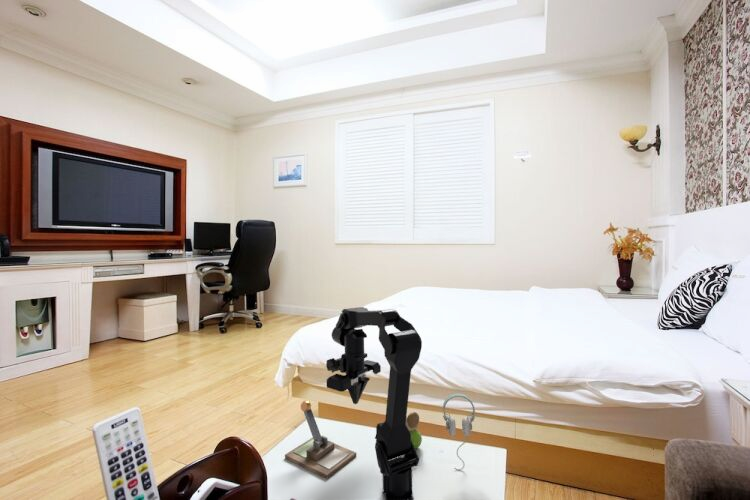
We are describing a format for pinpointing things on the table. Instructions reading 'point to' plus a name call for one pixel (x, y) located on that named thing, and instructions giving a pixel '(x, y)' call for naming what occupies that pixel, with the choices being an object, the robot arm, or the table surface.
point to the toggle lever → (311, 421)
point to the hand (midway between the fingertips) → (355, 403)
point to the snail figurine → (414, 429)
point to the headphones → (465, 421)
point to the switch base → (315, 466)
